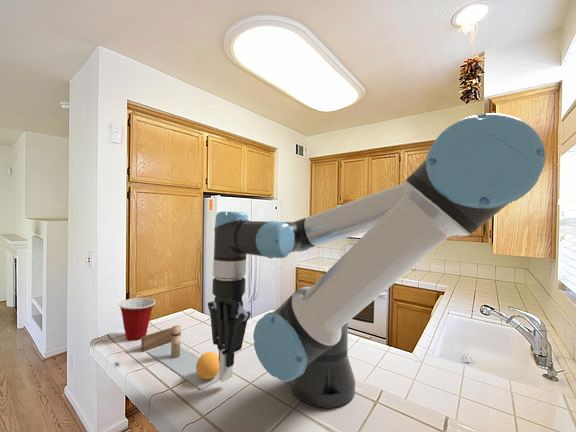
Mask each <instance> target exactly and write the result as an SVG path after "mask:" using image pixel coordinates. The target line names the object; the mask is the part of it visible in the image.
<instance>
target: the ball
mask: <svg viewBox="0 0 576 432" xmlns="http://www.w3.org/2000/svg"><path fill="white" fill-rule="evenodd" d="M199 357H200V358H199V359H198V361H197V364H196V371H197V374H198V375H199V377H201V378H202V379H211V378H213V377H215V376H216V375H217V374H218V372H219V354H218V353H216V352H214V351H207V352H205V353H202V354H201V356H199Z"/></svg>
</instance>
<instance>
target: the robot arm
mask: <svg viewBox="0 0 576 432" xmlns="http://www.w3.org/2000/svg"><path fill="white" fill-rule="evenodd" d="M545 163H546V151H545V146H544V143H543V140H542V139H541V136H540V135H539V133H538V132H537V131H536V130H535V129H534V128H533V127H532V126H530V124H528V123H527V122H526V121H524V120H522V119H520V118H517V117H514V116H511V115H507V114H503V113H482V114H477V115H476V114H475V115H471V116H468V117H464V118H463V119H460V120H458V121H456V122H454V123H452V124H451V125H449V126H448V127H447V128H445V129H444V130H443V131H442V132H441V133H439V135H438V136H437V137H436V139H434V142H433V144H432V145H430V148H429V150H428V152H427V156H426V159H425V160H424V161H423V162H422V163H421V164H420V165H419V166H418V167H417V168H416V169H414V171H413V172H412V173H411V174H409V176H408V177H407V178H406V179H405V180H404V181H403V183H399V184H398V185H395V186H391V187H389V188H386V189H384V190H381V191H378V192H375V193H371V194H369V195H366V196H364V197H361V198H358V199H354V200H353V201H349V202H346V203H343V204H340V205H338V206H335V207H332V208H329V209H326V210H323V211H320V212H317V213H315V214H312V215H310V216H307V217H304V218H301V219H297V220H295V221H277V220H276V221H275V220H273V221H272V220H270V221H266V220H265V221H263V220H262V221H261V220H259V221H257V220H256V221H255V220H254V221H253V220H249V215H248V213H247V212H243V211H219V212H217V213H216V216H215V224H214V228H213V229H214V241H213V242H214V245H213V263H212V265H213V266H212V276H213V277H214V278H212V295H213V296H215V297H214V300H213V301H210V302H209V301H208V303H207V307H208V310H209V316H210V317H209V318H210V326H211V334H212V344H213V345H214V346H215V345H216V347H217V350H218V356H219V381H220V382H222V383H224V382H227V381H228V380H229V379H231V378H233V367H234V364H235V353H236V352H238V351H240V350H242V348H243V342H244V339H245V334H246V329H247V324H248V321H249V319H250V317H251V314H252V313H251V311H249V310H247V311H246V309H245V308H244V302H243V296H244V295H245V293H246V278H245V276H246V272H247V271H246V268H247V267H246V266H247V255H251V256H252V255H253V256H259V257H265V258H267V259H284V258H287V257H288V256H289V254H291V253H295V252H299V253H300V252H304V251H308V250H309V249H312V248H314V247H319V246H321V245H325V244H329V243H332V242H336V241H340V240H343V239H347V238H351V237H353V236H358V235H361V234H363V236H362V237H360V239H359V240H357V242H355V243H354V244H353V245H352V246H351V247H350V248H349V249H348V251H346V253H344V254H343V255H342V256H341V257H340V258H339V259H338V260H337V261H336V262H335V263H333V264H332V266H331V267H330V268H329V269H328V270H326V272H325V273H324V274H323V275H322V276H321V277H320V278H319V279H318V280H317V281H316V282H315V283H314V284H313V285H312V286H303V287H302V286H301V288H298V289H296V290H295V291H294V292H293V293H291V295H289V297H288V298H287V299H286V300H285V301H284V302H283V303H282V304H281V305H280V306H279V307H278V308H276V309H275V310H274V311H272V312H268V313H266V314H264V315H263V316H262V317H261V318H260V319H258V321H257V323H256V324H255V326H254V330H253V336H252V337H253V341H254V343H253V346H254V351H255V354H256V357H257V359H258V360H259V363H260V364H261V366H262V367H263V368H264V370H265V371H266V372H267V373H268V374H269V375H270V376H272V377H274V378H277V380H279V381H283V382H290V390H291V392H292V393H293V395H294V396H295V397H296V398H297V399H298V400H300V401H301V402H303V403H304V404H307V405H310V406H313V407H316V408H324V409H325V408H327V409H328V408H329V409H330V408H331V409H332V408H338V407H341V406H342V407H343V406H344V405H346V404H348V403H349V402H351V401H352V400H353V398H354V397H355V394H356V380H355V375H354V372H353V368H352V365H351V362H350V359H349V356H348V345H349V344H348V340H349V339H348V338H349V337H348V335H349V333H348V328H349V323H348V322H350V321H351V320H352V319H354V317H356V316H357V315H358V314H359V313H360V312H362V311H363V310H364V309H365V308H366V307H367V306H368V305H370V304H371V303H373V301H375V300H376V299H377V298H378V297H379V296H381V295H382V294H383V293H384V292H386V291H387V290H388V289H389V288H391V286H393V285H394V284H395V283H396V282H397V281H398V280H400V279H401V278H402V277H403V276H404V275H406V274H407V273H408V272H409V271H411V270H412V269H414V267H415V266H417V265H418V264H419V263H420V262H421V261H422V260H424V259H425V258H426V257H427V256H428V255H430V254H431V253H432V252H433V251H434V250H435V249H436V248H437V247H439V246H441V244H442V243H444V242H445V241H446V240H447V239H448V238H450V237H453V236H454V237H455V236H456V237H457V236H458V237H469V236H470V235H472V234H473V233H474V232H476V231H477V230H478V229H479V228H480V227H482V226H483V225H484V224H486V223H487V222H488V221H489V220H491V218H493V217H494V216H495V215H496V214H498V213H499V212H501V211H502V210H503V209H504V208H505V207H507V206H508V205H509V204H511V203H512V202H516V201H518V200H519V199H521V198H523V197H525V195H526V194H527V193H529V192H530V191H531V190H532V189H533V188H534V187H535V185H536V184H537V183H538V181H539V178H540V176H541V175H542V172H543V170H544V167H545Z"/></svg>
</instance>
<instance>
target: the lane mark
mask: <svg viewBox="0 0 576 432" xmlns="http://www.w3.org/2000/svg"><path fill="white" fill-rule="evenodd" d="M146 353H147V354H148V355H151V356H152V357H153V358H155V359H156V360H157V361H159V362H160V363H162V364H163V365H164V366H166V367H167V368H169V369H170V370H171V371H173V372H175V373H176V374H177V375H179V376H180V377H182V378H183V379H185V381H187V382H189V383H190V384H192V385H194V386H195V387H196V388H198V389H199V390H200V391H202V390H204V389H206V388H208V387H210V386H211V385H213V384H215V383H217V382H219V381H220V380H219V372H218V374H217V375H216V376H215V377H213V378H211V379H202V378H201V377H199V375H198V374H197V371H196V364H197V361H198V359H199V358H200V357H201V356H198V355H196V354H194V353H192V352H191V351H189V350H187V349H185V348H183V347H182V346H180V357H178V358H171V342H170V343H167V344H164V345H161V346H158V347H156V348H153V349H150V350H147V351H146Z"/></svg>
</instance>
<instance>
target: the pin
mask: <svg viewBox="0 0 576 432" xmlns="http://www.w3.org/2000/svg"><path fill="white" fill-rule="evenodd" d="M171 328H172V332H171V342H170V343H171V358H178V357H180V347H181V333H182V331H181V330H182V329H181V328H182V327H181V325H174V326H172V327H171Z"/></svg>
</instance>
